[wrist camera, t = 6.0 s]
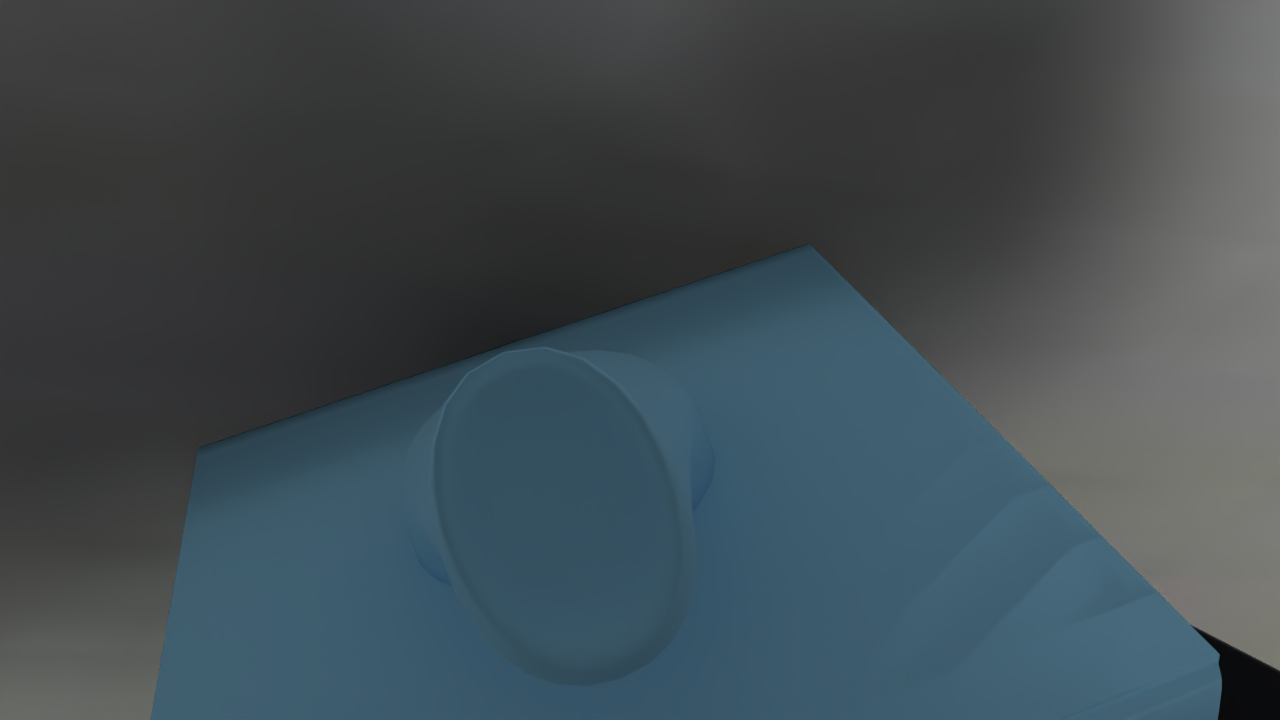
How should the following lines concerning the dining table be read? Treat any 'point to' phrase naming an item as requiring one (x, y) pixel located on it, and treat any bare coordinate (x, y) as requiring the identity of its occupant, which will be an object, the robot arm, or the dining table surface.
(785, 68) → the dining table surface
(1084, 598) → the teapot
